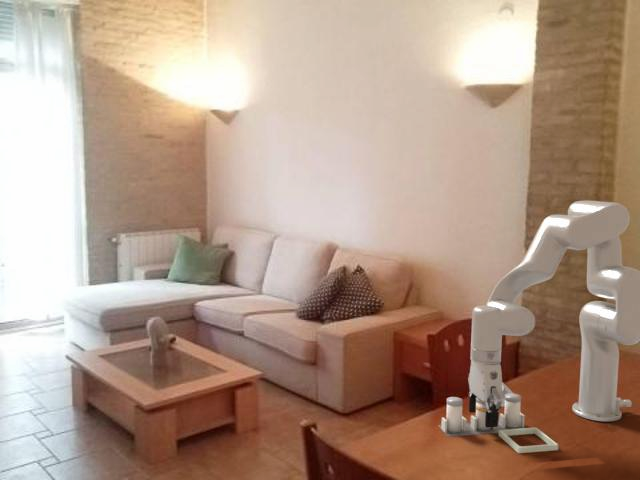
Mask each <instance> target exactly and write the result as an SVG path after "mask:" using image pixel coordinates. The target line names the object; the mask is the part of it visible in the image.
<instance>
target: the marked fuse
mask: <svg viewBox="0 0 640 480" xmlns="http://www.w3.org/2000/svg"><path fill="white" fill-rule="evenodd" d="M488 399H492V398H488ZM492 405H493V403H490V407H491V406H492ZM486 411H487V407H486V404H485V402H483V401H482V400H481V399H479V398H478V397H477V396H476V412H475V418H477V429H478V430H481V431H489V430H491V427H488V428H487V427H486V426H485V416H486Z"/></svg>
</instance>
